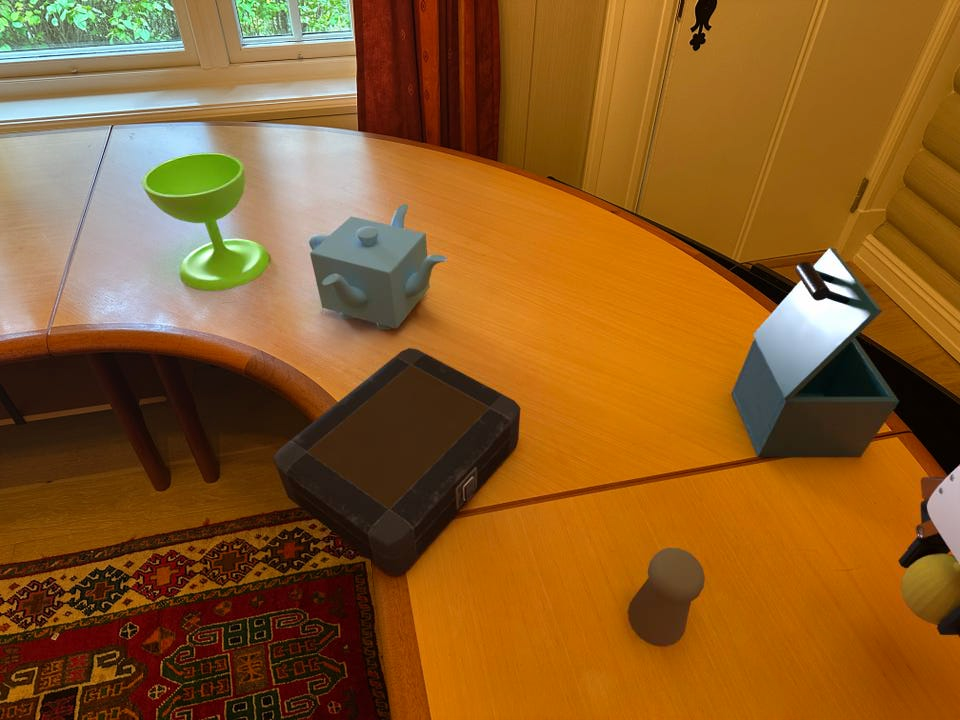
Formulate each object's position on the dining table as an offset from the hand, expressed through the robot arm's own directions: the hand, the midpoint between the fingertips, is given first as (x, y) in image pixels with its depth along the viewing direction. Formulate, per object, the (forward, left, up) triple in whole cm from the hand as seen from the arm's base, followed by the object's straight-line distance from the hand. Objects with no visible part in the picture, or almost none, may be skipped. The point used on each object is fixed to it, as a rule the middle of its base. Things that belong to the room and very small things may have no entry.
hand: (935, 595), depth 55 cm
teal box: (+5, -30, -11) cm, 32 cm away
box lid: (+9, -29, +7) cm, 31 cm away
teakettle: (+69, -40, -11) cm, 81 cm away
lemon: (0, 0, -3) cm, 3 cm away
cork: (+22, +3, -11) cm, 25 cm away
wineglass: (+102, -45, -11) cm, 112 cm away
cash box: (+54, -10, -11) cm, 56 cm away
